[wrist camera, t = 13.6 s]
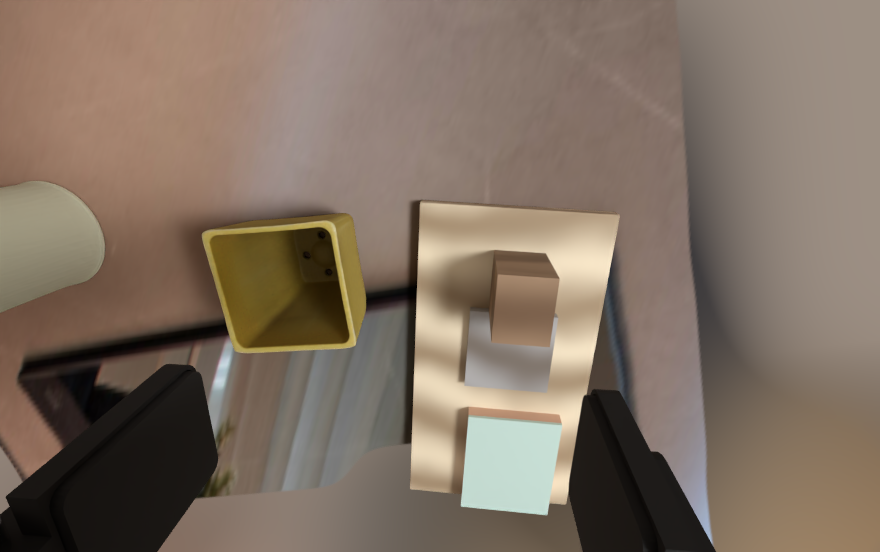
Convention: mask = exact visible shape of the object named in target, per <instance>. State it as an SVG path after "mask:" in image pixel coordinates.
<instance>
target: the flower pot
mask: <svg viewBox="0 0 880 552" xmlns="http://www.w3.org/2000/svg"><path fill="white" fill-rule="evenodd" d="M320 232H324V233H325V238H320V236H319V233H320ZM202 240H203V245H204V248H205V251H206V254H207V258H208V261H209V265H210V268H211V271H212V275H213V278H214V281H215V285H216V289H217V292H218V296H219V299H220V303H221V306H222V310H223V313H224V317H225V321H226V325H227V328H228V332H229V335H230V339H231V342H232V345H233V347H234V350H235V351H236V352H239V353H263V352H281V351H299V350H321V349H342V348H349V347H353V346H355V344H356V341H357V338H358V335H359V331H360V328H361V325H362V321H363V318H364V314H365V310H366V295H365V289H364V283H363V278H362V272H361V266H360V261H359V255H358V248H357V242H356V236H355V229H354V222H353V219H352V217H351V216H350V215H349V214H346V213H338V214H329V215H319V216H309V217H297V218H283V219H269V220H254V221H248V222H243V223H238V224H234V225H229V226H224V227H219V228H214V229H210V230H206V231H205V232H203V233H202ZM305 252H309V253H310V258H306V257H305V256H304V253H305ZM327 269H331V270H332V274H331V275H328V274H327V273H326V270H327Z"/></svg>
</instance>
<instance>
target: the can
mask: <svg viewBox="0 0 880 552" xmlns="http://www.w3.org/2000/svg"><path fill="white" fill-rule="evenodd" d="M104 256H105V241H104V236H103V232H102V230H101V227H100V225H99V223H98V221H97V219H96V217H95V216H94V214H93V213H92V211H91V210H90V209H89V207H88V206H87V205H86V204H85V203H84V202H83V201H82V200H81V199H80V198H79V197H77V196H76V195H75V194H73V193H72V192H70V191H68V190H67V189H65V188H63V187H61V186H59V185H56V184H53V183H49V182H44V181H29V182H24V183H21V184H18V185H13V186H7V187H0V313H1V312H3V311H6V310H8V309H11V308H14V307H16V306H19V305H21V304H24V303H26V302H29V301H31V300H34V299H36V298H39V297H41V296H44V295H46V294H49V293H52V292H54V291H57V290H60V289H62V288H65V287H68V286H71V285H76V284H80V283H83V282H85V281H87V280H89V279H91V278H92V277H93V276H94V275H95V274H96V273H97V272H98V271H99V269H100V267H101V265H102V263H103V260H104Z"/></svg>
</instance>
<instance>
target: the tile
mask: <svg viewBox="0 0 880 552" xmlns="http://www.w3.org/2000/svg"><path fill="white" fill-rule="evenodd" d="M561 431H562V422H561V419H560V415H559V414H548V413H537V412H525V411H514V410H503V409H492V408H480V407H469V409H468V421H467V433H466V445H465V456H464V468H463V480H462V492H461V506H462V507H472V508H481V509H492V510H501V511H511V512H521V513H531V514H541V515H547V513H548V507H549V501H550V495H551V489H552V484H553V478H554V472H555V466H556V460H557V454H558V448H559V443H560V437H561Z"/></svg>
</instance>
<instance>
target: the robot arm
mask: <svg viewBox="0 0 880 552" xmlns="http://www.w3.org/2000/svg"><path fill="white" fill-rule="evenodd" d="M217 463H218V454H217V449H216V444H215V439H214V434H213V430H212V425H211V420H210V415H209V410H208V405H207V400H206V395H205V391H204V386H203V381H202V377H201V374H200V373H199V372H196V370H195V368H194V367H193V366H191V365H178V364H166V365H164V366H162V367H161V368H160V369H159V370H158V371H156V372H155V373H154V374H153V375H152V376H150V377H149V378H148V379H147V380H146V381H144V382H143V383H142V384H141V385H139V386H138V387H137V388H136V389H135V390H133V391H132V392H131V393H130V394H129V395H127V396H126V397H125V398H124V399H123V400H121V401H120V402H119V403H118V404H117V405H115V406H114V407H113V408H112V409H111V410H109V411H108V412H107V413H106V414H105V415H103V416H102V417H101V418H100V419H99V420H97V421H96V422H95V423H94V424H92V425H91V426H90V427H89V428H88V429H86V430H85V431H84V432H83V433H82V434H80V435H79V436H78V437H77V438H76V439H74V440H73V441H72V442H71V443H70V444H68V445H67V446H66V447H65V448H64V449H62V450H61V451H60V452H59V453H58V454H56V455H55V456H54V457H53V458H52V459H50V460H49V461H48V462H47V463H46V464H44V465H43V466H42V467H41V468H39V469H38V470H37V471H36V472H35V473H33V474H32V475H31V476H30V477H29V478H27V479H26V480H25V481H24V482H23V483H21V484H20V485H19V486H18V487H17V488H16V489H14V490H13V491H12V492H11V493H9V494H8V495H7V496H6V499H7V501H8V504H9V506H10V507H9V508H8V509H6V510H5V511H4V512H3V513H2V514H0V552H157V551H158V550H159V548H160V547H161V546H162V544H163V543H164V542H165V540H166V539H167V537H168V536H169V534H170V533H171V532H172V530H173V529H174V527H175V526H176V525H177V523H178V522H179V521H180V519H181V518H182V516H183V515H184V514H185V512H186V510H187V509H188V508H189V507H190V505H191V504H192V502H193V501H194V500H195V498H196V497H197V495H198V494H199V492H200V491H201V490H202V488H203V487H204V485H205V484H206V483H207V481H208V480H209V478H210V477H211V476H212V474H213V473H214V471H215V469H216V467H217ZM569 497H570V502H571V506H572V510H573V514H574V517H575V522H576V526H577V530H578V534H579V538H580V542H581V546H582V550H583V552H716V551H715V549H714V547H713V545H712V544H711V542H710V540H709V538H708V536H707V534H706V533H705V531H704V529H703V527H702V525H701V523H700V522H699V520H698V518H697V516H696V514H695V513H694V511H693V509H692V507H691V505H690V503H689V502H688V500H687V498H686V496H685V494H684V492H683V491H682V489H681V487H680V485H679V483H678V482H677V480H676V478H675V476H674V474H673V472H672V471H671V469H670V467H669V465H668V463H667V461H666V460H665V458H664V457H663V456H662V454H660V453H659V452H651V451H650V449H649V447H648V445H647V443H646V441H645V439H644V437H643V435H642V434H641V432H640V430H639V428H638V426H637V424H636V422H635V420H634V418H633V416H632V414H631V412H630V410H629V408H628V407H627V405H626V403H625V401H624V399H623V397H622V395H621V393H620V392H619V391H615V390H599V389H594V390H592V392H591V395H584V397H583V400H582V406H581V412H580V418H579V424H578V430H577V436H576V442H575V448H574V454H573V460H572V466H571V472H570V478H569Z"/></svg>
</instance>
